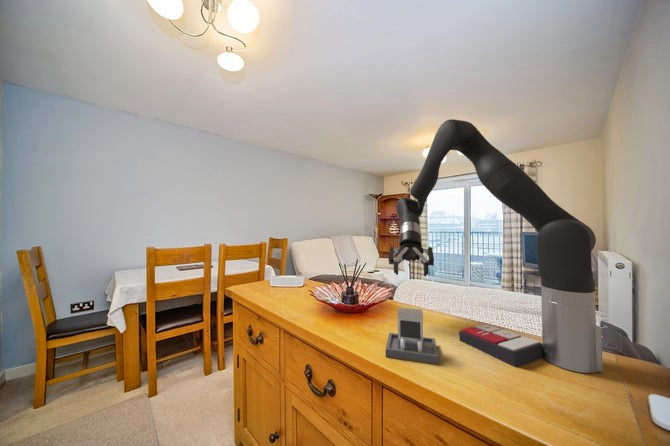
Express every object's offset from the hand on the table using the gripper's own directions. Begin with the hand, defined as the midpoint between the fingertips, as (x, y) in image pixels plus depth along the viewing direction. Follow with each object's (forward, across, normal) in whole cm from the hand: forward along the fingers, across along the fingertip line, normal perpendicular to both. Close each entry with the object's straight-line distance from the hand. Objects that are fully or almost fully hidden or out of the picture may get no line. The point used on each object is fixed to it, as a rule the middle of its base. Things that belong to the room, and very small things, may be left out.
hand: (410, 274), depth 78 cm
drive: (+22, 0, +1) cm, 22 cm away
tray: (+22, 0, +2) cm, 23 cm away
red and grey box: (+17, +22, +8) cm, 29 cm away
